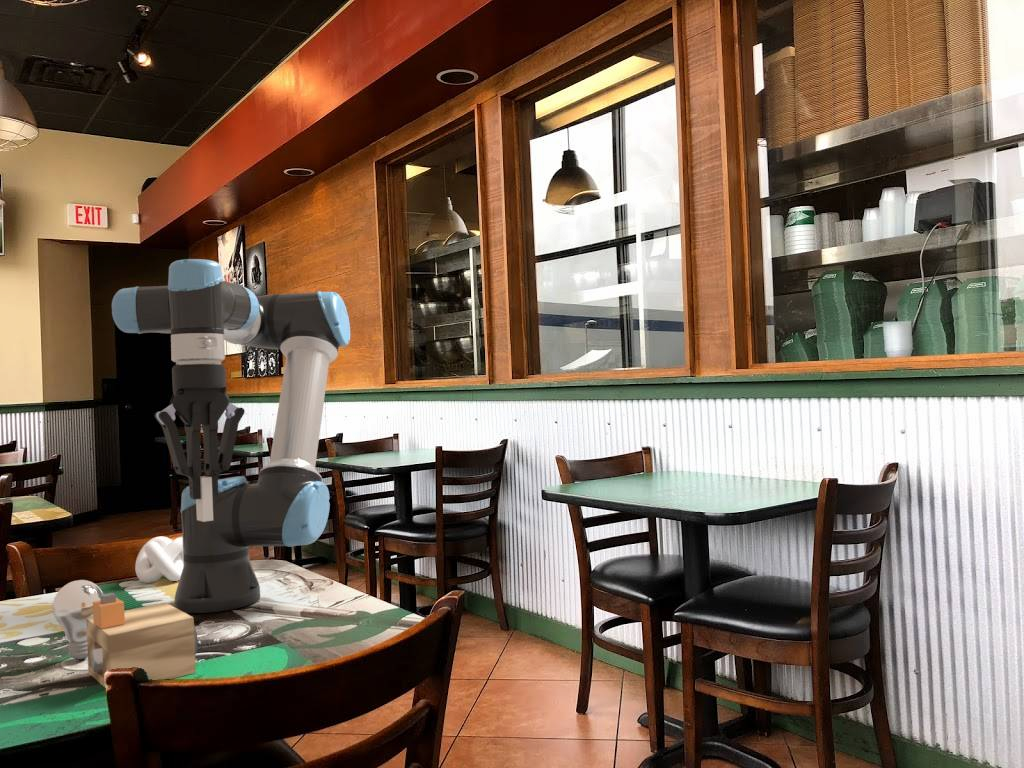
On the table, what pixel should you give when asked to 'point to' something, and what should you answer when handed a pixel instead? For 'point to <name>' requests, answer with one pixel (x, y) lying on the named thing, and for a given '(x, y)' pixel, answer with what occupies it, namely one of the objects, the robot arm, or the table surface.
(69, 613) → the light bulb
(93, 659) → the pin
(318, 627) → the table surface
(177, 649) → the block
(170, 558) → the white knot sculpture
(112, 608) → the bar
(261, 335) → the robot arm
